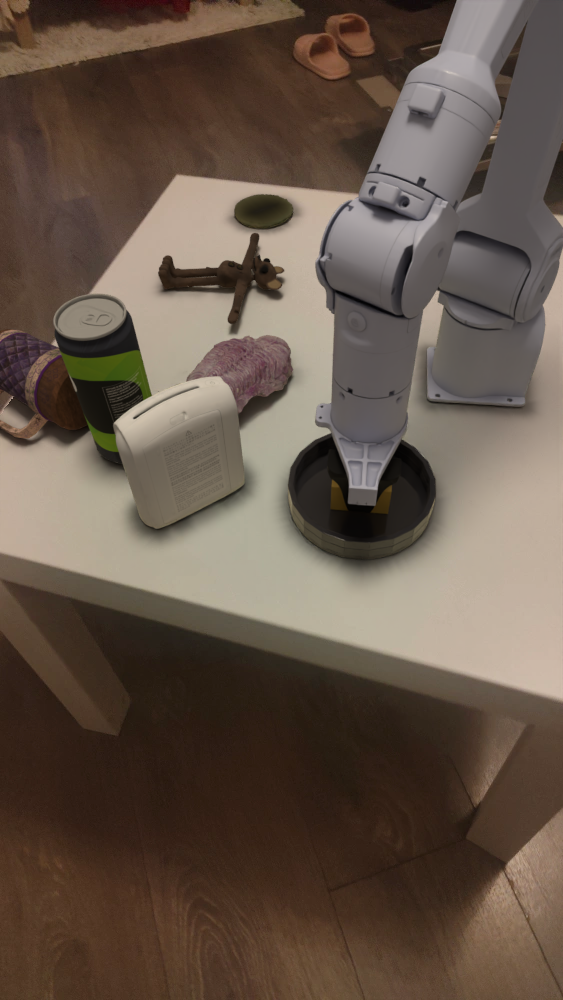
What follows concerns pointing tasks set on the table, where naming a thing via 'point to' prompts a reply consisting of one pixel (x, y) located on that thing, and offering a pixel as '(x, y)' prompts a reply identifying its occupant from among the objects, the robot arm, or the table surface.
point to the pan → (360, 529)
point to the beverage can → (102, 363)
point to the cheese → (339, 504)
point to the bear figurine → (226, 276)
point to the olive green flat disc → (263, 211)
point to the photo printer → (181, 449)
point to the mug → (38, 383)
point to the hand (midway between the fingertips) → (360, 490)
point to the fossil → (248, 366)
